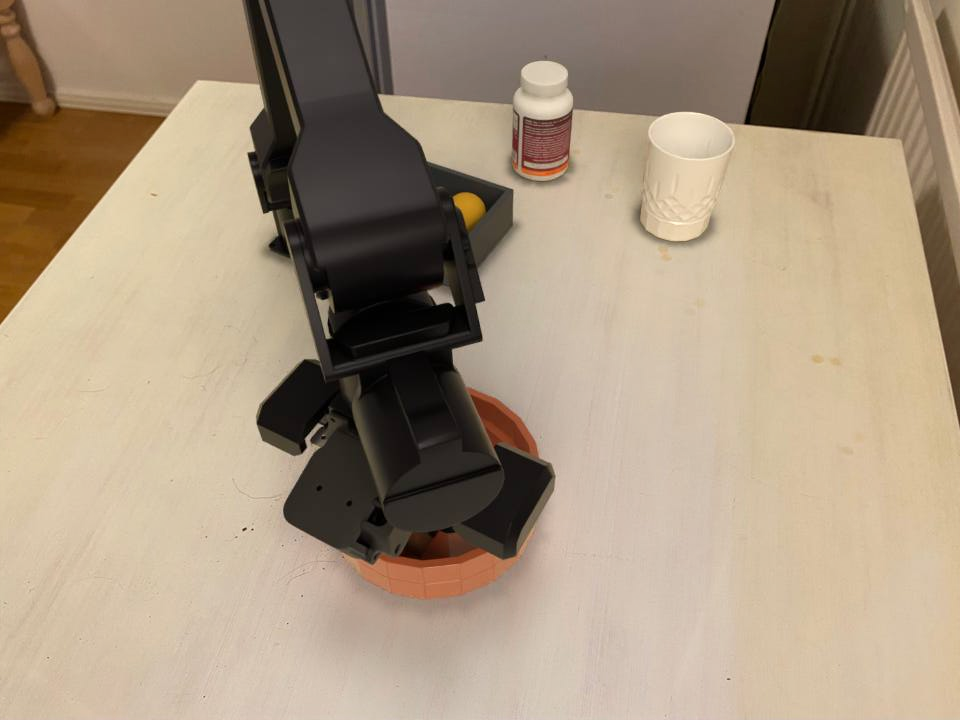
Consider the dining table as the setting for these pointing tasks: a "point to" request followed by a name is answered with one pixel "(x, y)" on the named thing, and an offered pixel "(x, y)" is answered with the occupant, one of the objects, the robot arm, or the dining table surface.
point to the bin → (495, 203)
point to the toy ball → (470, 208)
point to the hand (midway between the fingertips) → (411, 519)
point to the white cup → (683, 173)
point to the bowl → (448, 556)
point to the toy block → (418, 543)
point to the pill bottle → (542, 122)
